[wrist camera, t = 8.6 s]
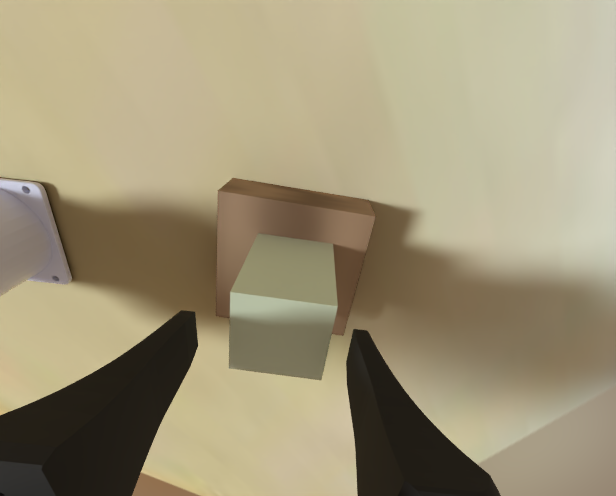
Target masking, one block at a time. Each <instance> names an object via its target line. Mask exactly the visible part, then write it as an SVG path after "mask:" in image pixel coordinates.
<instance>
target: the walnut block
mask: <svg viewBox="0 0 616 496" xmlns="http://www.w3.org/2000/svg"><path fill="white" fill-rule="evenodd" d="M375 218H376V216H375V214H374V211H373V209H372V207H371V204H370V202H369V200H365V199H359V198H353V197H346V196H340V195H334V194H328V193H322V192H316V191H310V190H304V189H297V188H291V187H285V186H279V185H273V184H267V183H261V182H254V181H248V180H242V179H236V178H232V179H231V180H230V181H229V182H228V183H227V184H225V185H224V186H223V187H222V188H221V189H219V190H218V215H217V281H216V316H219V317H226V318H230V291H231V289H232V287H233V285H234V283H235V281H236V279H237V277H238V275H239V272H240V270H241V268H242V266H243V264H244V262H245V260H246V258H247V256H248V253H249V251H250V249H251V247H252V245H253V243H254V241H255V239H256V237H257V235H258V233H260V234H267V235H274V236H281V237H288V238H295V239H302V240H310V241H317V242H323V243H330V244H333V250H334V263H335V276H336V289H337V302H338V308H337V312H336V317H335V321H334V326H333V330H332V334H336V335H342V336H343V335H344V331H345V328H346V324H347V320H348V317H349V313H350V309H351V306H352V302H353V298H354V295H355V291H356V287H357V284H358V280H359V276H360V273H361V269H362V265H363V262H364V258H365V254H366V251H367V247H368V243H369V240H370V236H371V232H372V229H373V225H374V221H375Z"/></svg>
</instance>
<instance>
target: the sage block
mask: <svg viewBox="0 0 616 496" xmlns="http://www.w3.org/2000/svg"><path fill="white" fill-rule="evenodd" d="M337 308H338V302H337V289H336V276H335V263H334V250H333V244H330V243H323V242H317V241H310V240H302V239H295V238H288V237H281V236H274V235H267V234H260V233H258V235H257V237H256V239H255V241H254V243H253V245H252V247H251V249H250V251H249V253H248V256H247V258H246V260H245V262H244V264H243V266H242V268H241V270H240V272H239V275H238V277H237V279H236V281H235V283H234V285H233V287H232V289H231V291H230V332H229V368H230V369H238V370H246V371H254V372H261V373H269V374H277V375H285V376H292V377H300V378H308V379H316V380H321V379H322V375H323V370H324V366H325V361H326V357H327V352H328V348H329V343H330V339H331V335H332V330H333V326H334V321H335V317H336V312H337Z"/></svg>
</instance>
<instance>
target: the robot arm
mask: <svg viewBox="0 0 616 496" xmlns="http://www.w3.org/2000/svg"><path fill="white" fill-rule="evenodd" d="M27 187H28V188H29V190H30V191H29V190H28V188H27ZM26 280H30V281H39V282H48V283H57V284H68V283H69V282H71V281H72V276H71V273H70V270H69V266H68V263H67V260H66V257H65V253H64V250H63V247H62V243H61V240H60V237H59V234H58V230H57V227H56V224H55V220H54V217H53V214H52V211H51V207H50V204H49V201H48V197H47V194H46V191H45V189H44V187H43V186H42V185H41V184H39V183H37V182H31V181H22V180H13V179H4V178H0V296H1V295H3V294H4V293H6V292H8V291H9V290H11V289H13V288H14V287H16V286H18V285H19V284H21V283H23V282H24V281H26ZM197 347H198V340H197V328H196V317H195V312H192V311H180V312H179V313H178V314H176V315H175V316H174V317H172V318H171V319H170V320H169V321H167V322H166V323H165V324H164V325H162V326H161V327H160V328H158V329H157V330H156V331H155V332H153V333H152V334H151V335H149V336H148V337H147V338H145V339H144V340H143V341H141V342H140V343H139V344H137V345H136V346H134V347H133V348H131V349H130V350H129V351H127V352H126V353H124V354H123V355H121V356H120V357H118V358H117V359H115V360H114V361H112V362H110V363H109V364H107V365H105V366H104V367H102V368H100V369H99V370H97V371H95V372H93V373H92V374H90V375H88V376H86V377H84V378H82V379H80V380H78V381H76V382H75V383H73V384H71V385H69V386H67V387H65V388H63V389H61V390H59V391H57V392H55V393H52V394H50V395H48V396H46V397H44V398H41V399H39V400H37V401H35V402H32V403H30V404H28V405H25V406H23V407H21V408H18V409H15V410H13V411H10V412H8V413H5V414H3V415H0V496H132V494H133V491H134V488H135V486H136V483H137V480H138V478H139V475H140V472H141V470H142V467H143V465H144V462H145V460H146V457H147V455H148V452H149V450H150V447H151V445H152V442H153V440H154V438H155V435H156V433H157V430H158V428H159V426H160V424H161V422H162V419H163V417H164V415H165V413H166V411H167V410H168V408H169V406H170V404H171V402H172V400H173V398H174V396H175V395H176V393H177V391H178V389H179V387H180V385H181V383H182V381H183V379H184V378H185V376H186V374H187V372H188V370H189V368H190V366H191V363H192V361H193V358H194V355H195V353H196V350H197ZM346 366H347V387H348V395H349V402H350V409H351V416H352V423H353V430H354V438H355V448H356V467H357V491H358V496H501V495H500V493H499V491H498V489H497V487H496V486H495V484H494V482H493V480H492V478H491V476H490V475H489V474H488V473H487V472H485V471H484V470H483V469H482V468H481V467H479V466H478V465H477V464H476V463H475V462H473V461H472V460H471V459H470V458H469V457H467V456H466V455H465V454H464V453H463V452H462V451H461V450H459V449H458V448H457V447H456V446H455V445H454V444H453V443H452V442H451V441H450V440H449V439H448V438H447V437H446V436H445V435H444V434H442V432H441V431H440V430H439V429H438V428H437V427H436V426H435V425H434V424H433V423H432V422H431V421H430V420H429V419H428V418H427V417H426V416H425V415H424V413H423V412H422V411H421V410H420V409H419V408H418V407H417V405H416V404H415V403H414V402H413V400H412V399H411V398H410V397H409V395H408V394H407V393H406V392H405V390H404V389H403V388H402V386H401V385H400V383H399V382H398V381H397V379H396V378H395V376H394V375H393V373H392V372H391V370H390V369H389V367H388V365H387V364H386V362H385V361H384V359H383V357H382V356H381V354H380V352H379V351H378V349H377V347H376V345H375V344H374V342H373V340H372V338H371V336H370V334H369V332H368V331H366V330H357V329H354V330H353V334H352V339H351V343H350V348H349V352H348V357H347V361H346Z"/></svg>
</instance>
